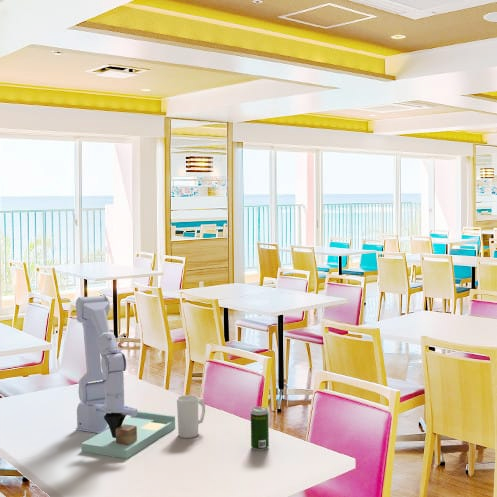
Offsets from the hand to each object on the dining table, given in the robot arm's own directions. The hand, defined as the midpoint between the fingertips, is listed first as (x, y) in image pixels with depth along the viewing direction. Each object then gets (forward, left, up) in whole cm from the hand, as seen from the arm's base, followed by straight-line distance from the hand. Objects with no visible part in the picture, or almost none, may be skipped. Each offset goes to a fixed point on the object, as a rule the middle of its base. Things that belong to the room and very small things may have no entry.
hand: (115, 436), depth 216 cm
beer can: (+41, +16, -4) cm, 44 cm away
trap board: (0, +9, -4) cm, 9 cm away
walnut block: (+4, 0, -1) cm, 4 cm away
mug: (+16, +20, -4) cm, 26 cm away
